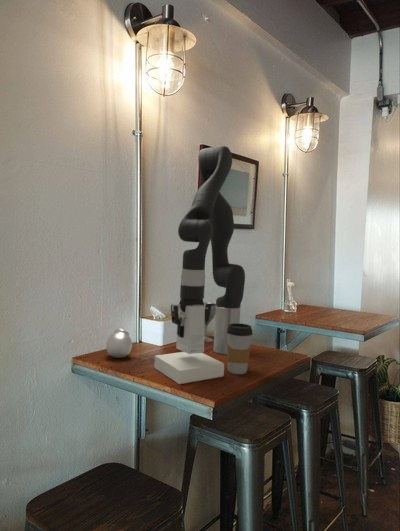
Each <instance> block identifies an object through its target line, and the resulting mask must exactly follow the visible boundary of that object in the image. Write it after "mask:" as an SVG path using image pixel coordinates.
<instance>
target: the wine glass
mask: <svg viewBox="0 0 400 531" xmlns="http://www.w3.org/2000/svg"><path fill="white" fill-rule="evenodd" d="M203 302H204V301H203ZM204 303H205V302H204ZM209 303H210V304H211V311H210V316H209V321H208V322H205V329H204V343H213V342H214V338H210V337H207V332H208V327H209V325H210V323H212V322H213V320H215V314H216V303H213V302H209Z"/></svg>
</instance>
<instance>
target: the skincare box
mask: <svg viewBox="0 0 400 531" xmlns="http://www.w3.org/2000/svg"><path fill="white" fill-rule="evenodd" d="M180 312H181V315H183V316H184V315H185V314H186V319H185V323H184V325H183V326H184V337H183V338H180V337H179V336H178V335H177V334H176V345H175V346H176V349H177V350H180V351H181V352H186V353H188V354H194V353H203V354H205V353H204V352H205V342H204V329H205V306H203V305H187V306H186V309H185V312H182V310H181V309H180V308H179V311H178V315H179V314H180ZM181 320H182V319H181ZM177 327H178V326H177V325H176V328H177Z"/></svg>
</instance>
